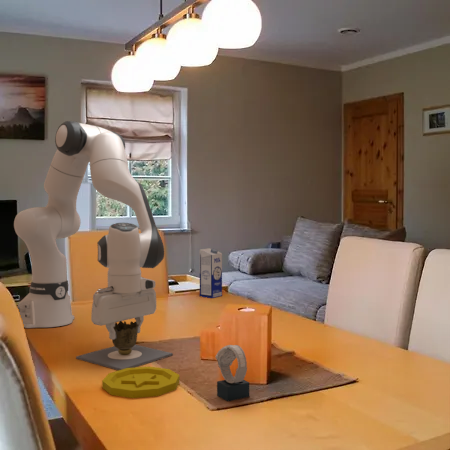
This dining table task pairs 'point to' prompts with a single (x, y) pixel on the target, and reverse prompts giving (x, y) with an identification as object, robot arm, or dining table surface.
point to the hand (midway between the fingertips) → (125, 335)
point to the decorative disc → (140, 382)
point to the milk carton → (210, 273)
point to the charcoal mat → (124, 357)
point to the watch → (231, 385)
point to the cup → (125, 337)
